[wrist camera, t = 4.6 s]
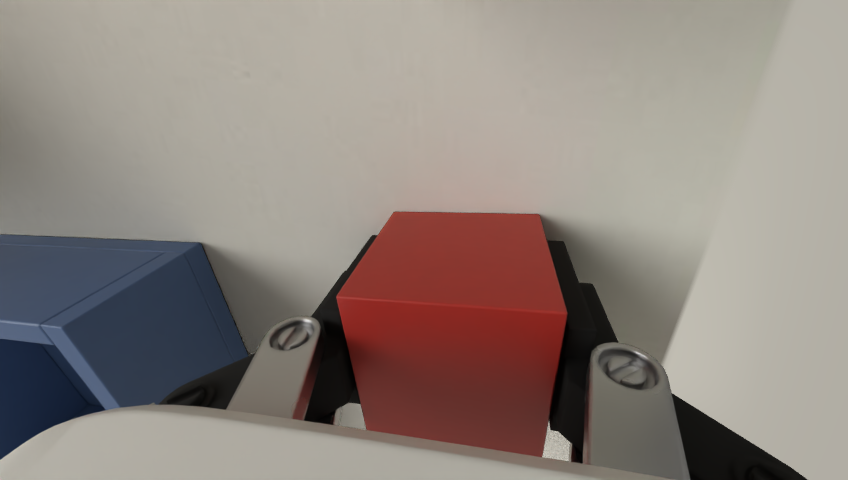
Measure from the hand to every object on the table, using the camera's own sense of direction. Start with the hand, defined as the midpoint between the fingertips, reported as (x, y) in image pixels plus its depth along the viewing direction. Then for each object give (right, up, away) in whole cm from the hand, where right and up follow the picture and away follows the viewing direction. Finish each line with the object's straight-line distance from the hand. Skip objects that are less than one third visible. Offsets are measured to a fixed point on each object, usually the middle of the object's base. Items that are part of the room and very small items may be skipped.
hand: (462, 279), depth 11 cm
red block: (0, 0, 0) cm, 0 cm away
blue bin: (-16, -4, +6) cm, 17 cm away
